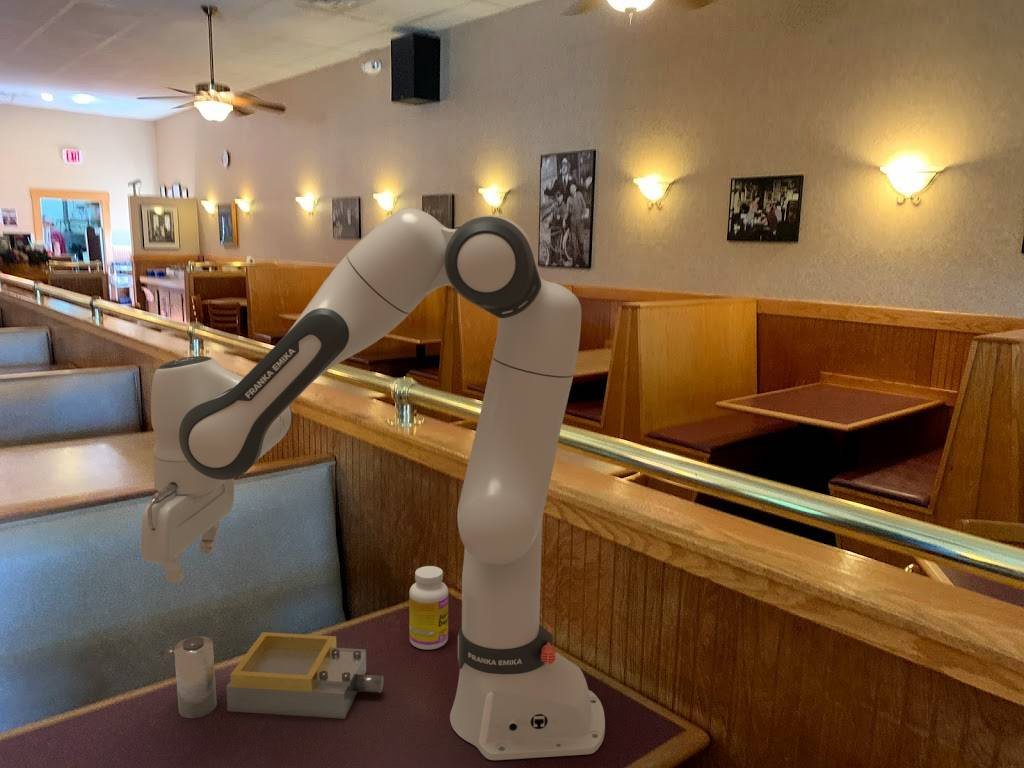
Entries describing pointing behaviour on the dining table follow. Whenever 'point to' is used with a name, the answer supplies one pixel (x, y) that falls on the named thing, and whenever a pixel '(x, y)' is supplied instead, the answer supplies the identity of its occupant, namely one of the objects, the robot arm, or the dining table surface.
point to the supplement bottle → (428, 609)
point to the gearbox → (299, 677)
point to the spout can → (194, 676)
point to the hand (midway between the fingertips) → (192, 565)
